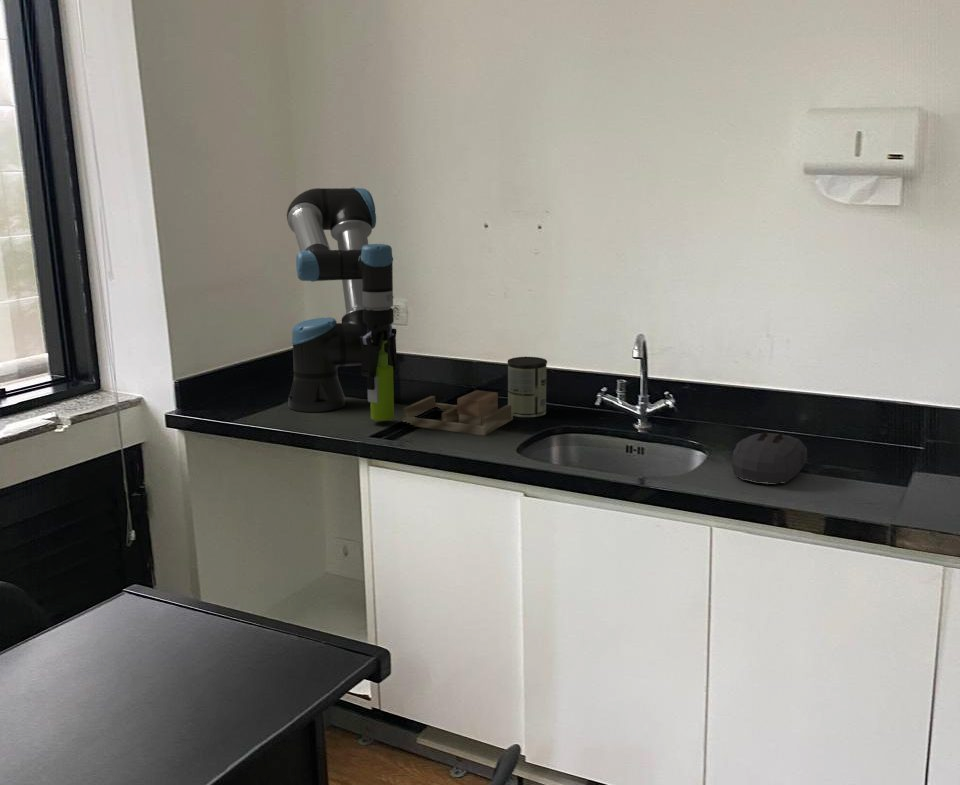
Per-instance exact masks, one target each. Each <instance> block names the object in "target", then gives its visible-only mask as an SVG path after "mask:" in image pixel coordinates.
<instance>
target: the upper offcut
mask: <svg viewBox="0 0 960 785" xmlns="http://www.w3.org/2000/svg"><path fill="white" fill-rule="evenodd" d="M498 398H499V392H497V391H496V392H495V391H487V390H478V389H476V390H474V391H472V392H470V393H466V394H464V395H462V396H459V397H458V398H457V399H456V400H457V401H456V402H457V404H456V405H457V410H458V414H460V415H468V416H475V417H480V416H482V415H484V414H486V413H488V412H490V411H493V410H495V409H497V408H498V409H499V407H498V406H499V404H498V403H499V401H498V400H499V399H498Z"/></svg>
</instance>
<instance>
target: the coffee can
mask: <svg viewBox="0 0 960 785" xmlns="http://www.w3.org/2000/svg"><path fill="white" fill-rule="evenodd" d="M547 364H548V360H547V359H546V358H542V357H539V356H519V357H512V358H508V359H507V405H511V412H513V417H517V418H536V417H542V416H545V415H546V414H547Z"/></svg>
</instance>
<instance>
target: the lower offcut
mask: <svg viewBox="0 0 960 785" xmlns="http://www.w3.org/2000/svg"><path fill="white" fill-rule="evenodd" d="M498 409H499V407H498V408H497V409H495V410H493V411H490V412H488V413H486V414H484V415H482V416H480V417H475V416H468V415H460V414H459V423H463V424H471V425H479V426H482V418H483V417H485V416H487V415H489V414H491V413H492V412H494V411H496V410H498Z"/></svg>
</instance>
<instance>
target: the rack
mask: <svg viewBox="0 0 960 785" xmlns="http://www.w3.org/2000/svg"><path fill="white" fill-rule="evenodd" d="M434 407H438V408H440V409H441V411H443V412H441V420H439V419H431V418H424V417H422V418H417V417H415V416H418V415H420V414H422V413H424V412H425V411H427V410H429V409H431V408H434ZM402 414H403V416H401V417H400V418H401V419H400V421H403V422H407V423H410V424H412V425H414V426H413V427H416V428H417V427H418V428H425V429H431V430H441V431H446V432H455V433H461V434H468V435H477V436H486V435H488V434H490V433H492V432H493V431H495V430H497V429H498V428H500V427H502V426H504V425H506V424H508V423H509V422H511V421H513V420H514V416H513V412H511V405H508V404H506V405H504V406H502V407H500V408H498V410H496V411H494V412H492V413H491V414H489V415H487V416H485V417H483V418H482V426H479V425H471V424H463V423H459V414H458V410H457V404H449V403H440V402H436V396H435V395H430V396H428V397H425V398H423V399H421V400H419V401H416V402H415V403H412V404H410V405H408V406H405V407H403V408H402Z"/></svg>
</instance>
